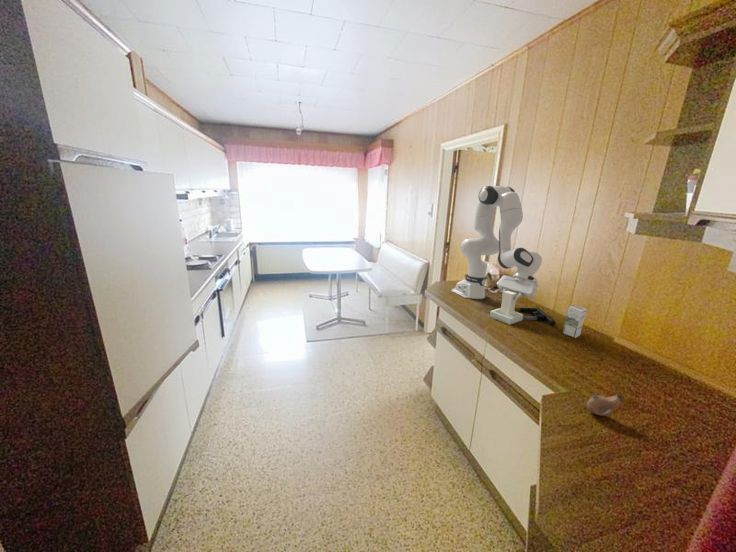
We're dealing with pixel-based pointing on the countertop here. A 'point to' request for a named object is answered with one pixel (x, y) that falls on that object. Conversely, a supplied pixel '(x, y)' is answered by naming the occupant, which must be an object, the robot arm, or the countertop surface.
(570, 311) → the syrup box
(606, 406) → the oil lamp
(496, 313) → the tray
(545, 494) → the countertop surface
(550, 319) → the toy submachine gun
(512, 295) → the cream block
